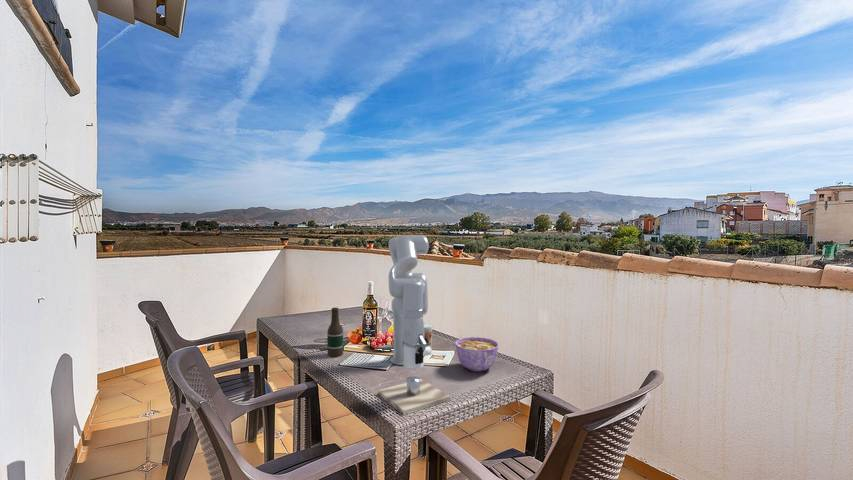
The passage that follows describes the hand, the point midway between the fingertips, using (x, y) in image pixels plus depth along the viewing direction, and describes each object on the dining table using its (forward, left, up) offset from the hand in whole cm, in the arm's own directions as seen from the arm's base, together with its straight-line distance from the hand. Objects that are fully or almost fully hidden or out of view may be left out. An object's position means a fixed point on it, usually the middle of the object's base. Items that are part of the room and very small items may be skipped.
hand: (413, 360), depth 144 cm
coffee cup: (-48, +37, -15) cm, 63 cm away
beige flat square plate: (0, 0, -14) cm, 14 cm away
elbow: (0, +2, -2) cm, 3 cm away
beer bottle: (-63, -7, -15) cm, 65 cm away
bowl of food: (-9, +40, -15) cm, 44 cm away
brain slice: (-60, +19, -15) cm, 65 cm away
